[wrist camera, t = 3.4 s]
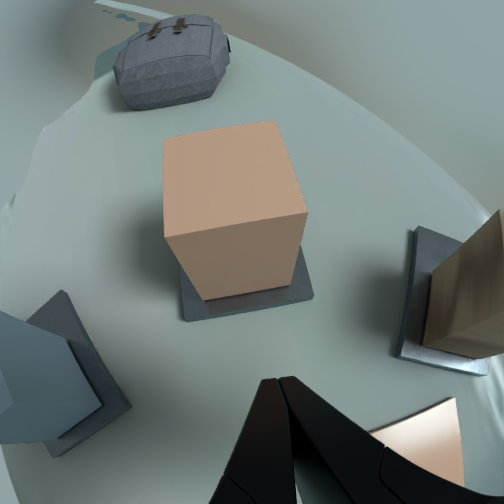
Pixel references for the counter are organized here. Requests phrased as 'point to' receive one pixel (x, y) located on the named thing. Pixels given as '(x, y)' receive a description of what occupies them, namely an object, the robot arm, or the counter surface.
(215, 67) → the small grey backpack
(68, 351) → the blue-grey rectangular block
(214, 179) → the tan block
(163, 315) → the counter surface
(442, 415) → the card
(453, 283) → the brown wooden block
